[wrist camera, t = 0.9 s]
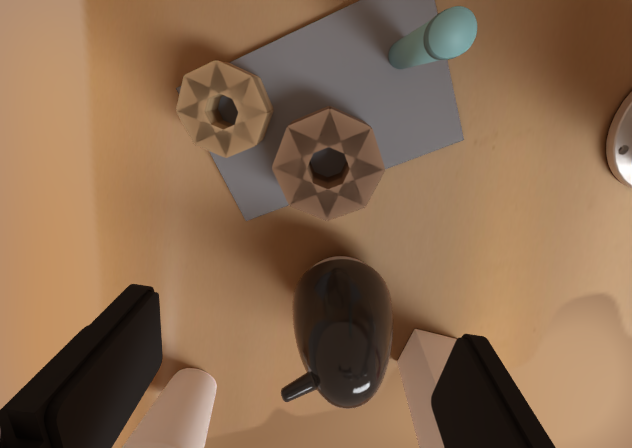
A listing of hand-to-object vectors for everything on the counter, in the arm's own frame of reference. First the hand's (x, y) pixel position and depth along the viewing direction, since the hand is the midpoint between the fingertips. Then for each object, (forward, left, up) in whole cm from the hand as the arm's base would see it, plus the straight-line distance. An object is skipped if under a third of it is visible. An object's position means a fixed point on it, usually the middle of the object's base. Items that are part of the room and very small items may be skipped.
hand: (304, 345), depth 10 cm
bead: (-1, -1, -23) cm, 23 cm away
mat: (-2, -5, -23) cm, 24 cm away
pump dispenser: (+3, +13, -24) cm, 27 cm away
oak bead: (+5, -8, -23) cm, 25 cm away
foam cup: (+28, +22, -24) cm, 43 cm away
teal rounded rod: (-10, -7, -23) cm, 26 cm away
